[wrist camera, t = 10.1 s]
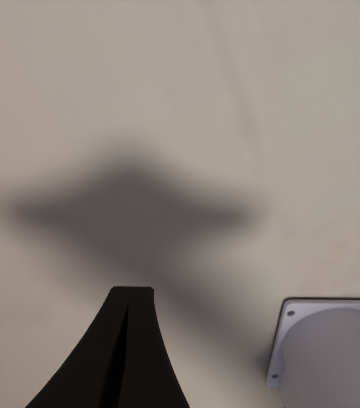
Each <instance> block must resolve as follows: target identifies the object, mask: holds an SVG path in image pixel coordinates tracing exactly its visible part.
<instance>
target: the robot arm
mask: <svg viewBox="0 0 360 408" xmlns="http://www.w3.org/2000/svg"><path fill="white" fill-rule="evenodd" d="M289 311H291V312H289ZM266 383H267V386H268V387H271V388H279V389H280V392H281V396H282V399H283V403H284V406H285V408H360V300H288V301H286V302H285V303H284V306H283V310H282V314H281V318H280V323H279V327H278V331H277V335H276V340H275V344H274V348H273V352H272V357H271V361H270V365H269V369H268V374H267V378H266ZM25 408H190V407H189V404H188V402H187V400H186V398H185V396H184V394H183V392H182V389H181V387H180V385H179V383H178V380H177V378H176V375H175V373H174V370H173V368H172V365H171V362H170V360H169V357H168V354H167V351H166V348H165V345H164V342H163V339H162V335H161V332H160V328H159V324H158V320H157V316H156V311H155V304H154V289H153V288H151V287H125V286H114V287H113V288H111V290H110V292H109V294H108V296H107V298H106V300H105V301H104V303H103V305H102V307H101V309H100V310H99V312H98V314H97V315H96V317H95V319H94V320H93V322H92V323H91V325H90V326H89V328H88V329H87V331H86V332H85V334H84V335H83V337H82V338H81V340H80V341H79V343H78V344H77V345H76V347H75V348H74V349H73V351H72V352H71V354H70V355H69V356H68V358H67V359H66V360H65V362H64V363H63V364H62V366H61V367H60V368H59V369H58V371H57V372H56V373H55V374H54V375H53V377H52V378H51V379H50V380H49V381H48V383H47V384H46V385H45V386H44V387H43V388H42V390H41V391H40V392H39V393H38V394H37V395H36V396H35V397H34V398H33V400H32V401H31V402H30V403H29V404H28V405H27V406H26V407H25Z"/></svg>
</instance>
